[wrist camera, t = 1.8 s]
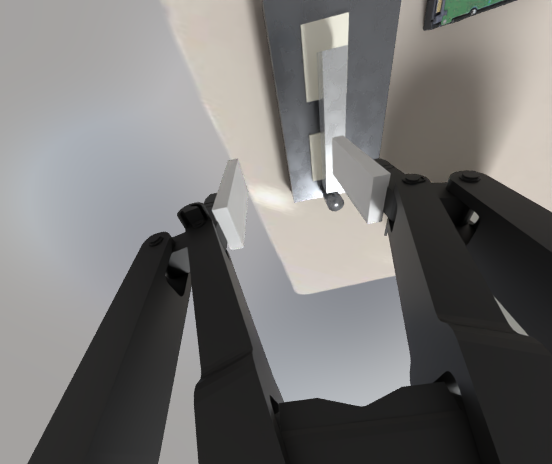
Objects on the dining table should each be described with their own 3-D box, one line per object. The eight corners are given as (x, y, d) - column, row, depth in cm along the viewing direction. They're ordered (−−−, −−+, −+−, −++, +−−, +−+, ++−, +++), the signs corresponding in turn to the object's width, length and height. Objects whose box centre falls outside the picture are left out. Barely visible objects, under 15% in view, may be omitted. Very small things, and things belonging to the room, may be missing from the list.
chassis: (262, 7, 23) (262, -3, 19) (388, -28, 22) (411, -45, 18) (291, 192, 38) (294, 204, 34) (366, 177, 37) (377, 188, 33)
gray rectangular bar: (337, 198, 34) (344, 209, 31) (322, 201, 34) (328, 212, 31) (338, 47, 22) (349, 44, 19) (315, 52, 22) (323, 50, 19)
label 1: (309, 134, 28) (309, 135, 28) (344, 126, 28) (345, 127, 28) (312, 180, 33) (313, 181, 32) (343, 173, 32) (344, 174, 32)
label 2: (300, 25, 21) (300, 24, 21) (347, 12, 21) (348, 12, 21) (306, 102, 26) (306, 102, 25) (345, 92, 25) (346, 93, 25)
